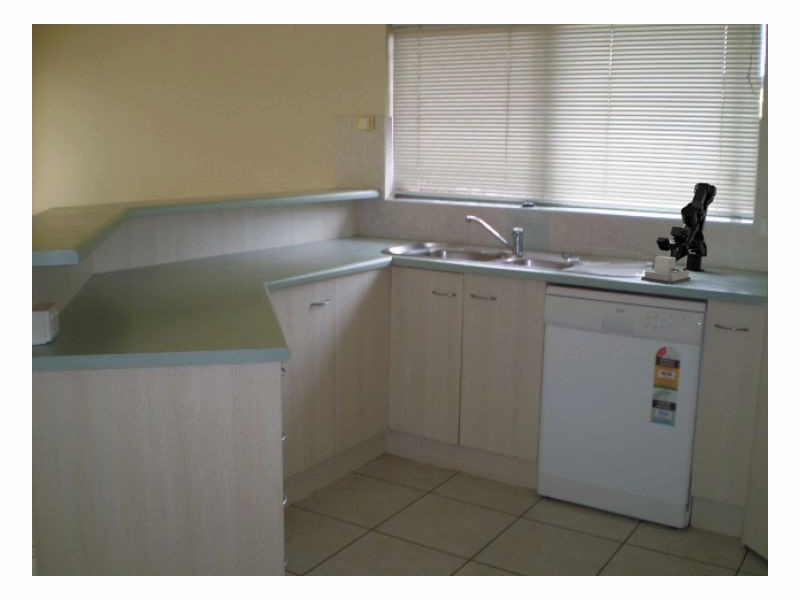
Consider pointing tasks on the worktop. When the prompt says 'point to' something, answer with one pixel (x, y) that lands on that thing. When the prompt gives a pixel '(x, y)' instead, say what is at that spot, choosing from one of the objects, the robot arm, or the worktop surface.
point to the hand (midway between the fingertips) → (671, 262)
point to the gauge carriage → (665, 264)
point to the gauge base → (667, 277)
